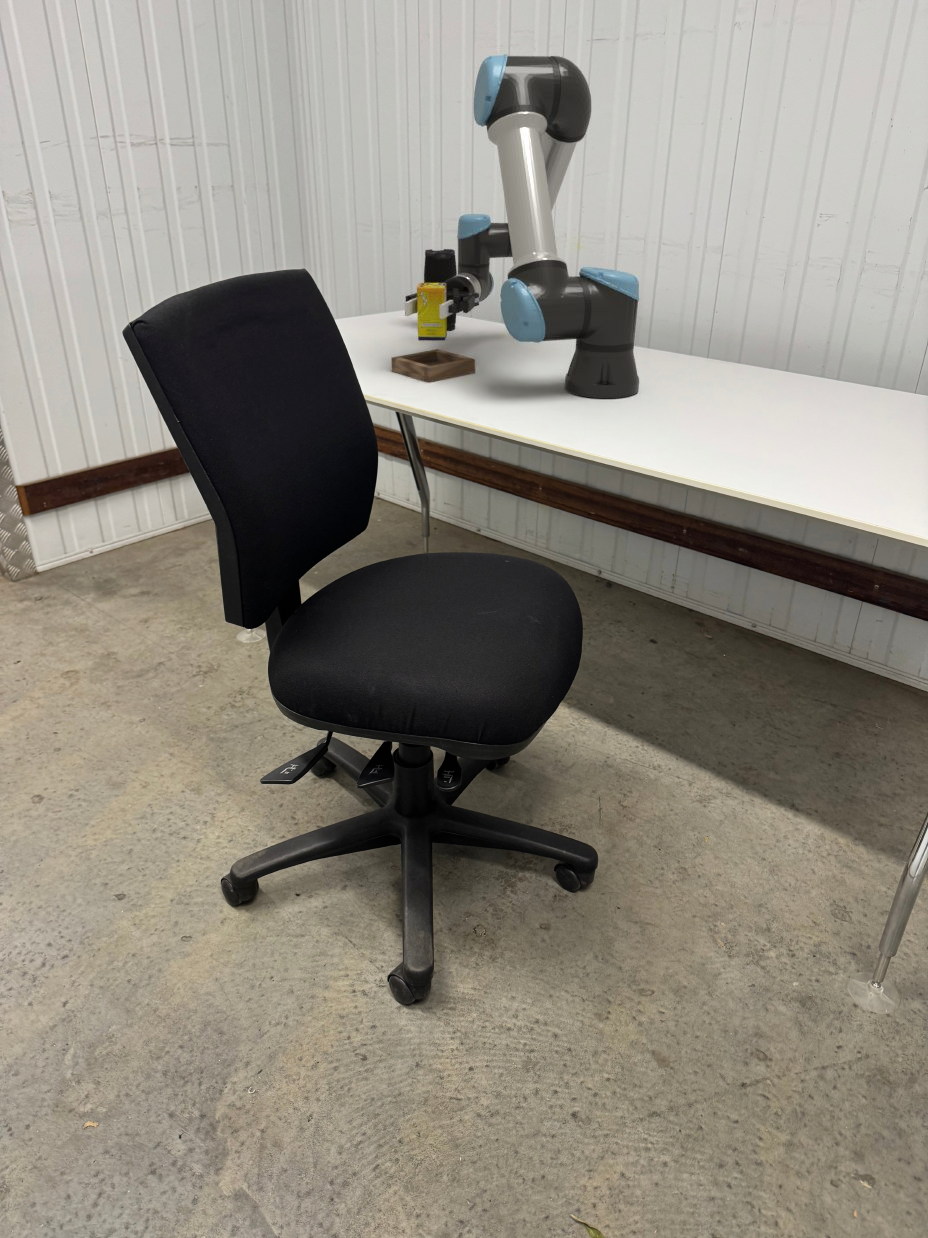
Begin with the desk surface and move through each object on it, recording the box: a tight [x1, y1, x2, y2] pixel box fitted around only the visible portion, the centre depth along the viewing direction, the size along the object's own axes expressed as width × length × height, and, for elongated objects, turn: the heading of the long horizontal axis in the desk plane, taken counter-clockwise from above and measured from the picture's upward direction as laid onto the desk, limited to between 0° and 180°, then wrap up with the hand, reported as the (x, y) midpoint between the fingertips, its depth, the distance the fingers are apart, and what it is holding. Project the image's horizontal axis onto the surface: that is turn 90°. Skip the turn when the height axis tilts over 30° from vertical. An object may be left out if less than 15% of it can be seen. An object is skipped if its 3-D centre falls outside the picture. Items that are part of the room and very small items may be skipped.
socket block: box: [391, 348, 476, 383], centre depth 196 cm, size 13×13×3 cm
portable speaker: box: [423, 248, 458, 332], centre depth 234 cm, size 9×9×20 cm
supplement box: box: [416, 282, 448, 342], centre depth 190 cm, size 6×6×11 cm
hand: (423, 310), depth 186 cm, fingers closed on supplement box, 7 cm apart
